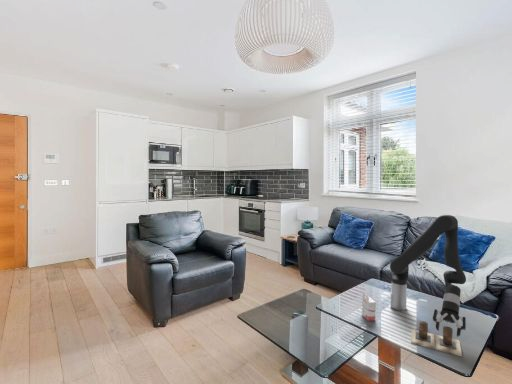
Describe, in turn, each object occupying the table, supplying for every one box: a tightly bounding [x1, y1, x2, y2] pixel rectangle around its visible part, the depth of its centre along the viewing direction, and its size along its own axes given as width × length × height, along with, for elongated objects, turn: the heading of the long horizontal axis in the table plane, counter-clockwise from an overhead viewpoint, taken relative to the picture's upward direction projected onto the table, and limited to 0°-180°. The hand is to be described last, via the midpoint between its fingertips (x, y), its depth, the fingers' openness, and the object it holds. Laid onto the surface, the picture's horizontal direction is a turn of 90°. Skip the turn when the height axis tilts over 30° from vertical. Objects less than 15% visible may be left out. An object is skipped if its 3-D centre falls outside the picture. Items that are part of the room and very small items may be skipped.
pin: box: [418, 320, 429, 339], centre depth 151 cm, size 4×4×8 cm
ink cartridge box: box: [361, 292, 377, 322], centre depth 175 cm, size 9×5×15 cm, turn 5°
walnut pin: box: [442, 325, 453, 345], centre depth 145 cm, size 4×4×8 cm
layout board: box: [410, 328, 463, 357], centre depth 148 cm, size 22×14×1 cm, turn 59°
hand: (447, 332), depth 144 cm, fingers open, 8 cm apart
